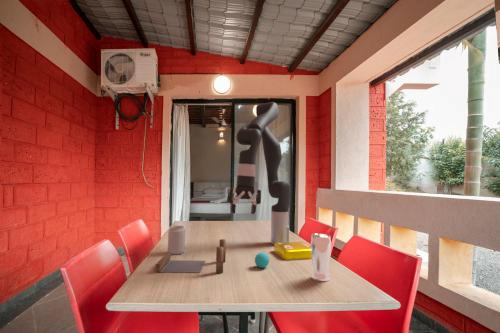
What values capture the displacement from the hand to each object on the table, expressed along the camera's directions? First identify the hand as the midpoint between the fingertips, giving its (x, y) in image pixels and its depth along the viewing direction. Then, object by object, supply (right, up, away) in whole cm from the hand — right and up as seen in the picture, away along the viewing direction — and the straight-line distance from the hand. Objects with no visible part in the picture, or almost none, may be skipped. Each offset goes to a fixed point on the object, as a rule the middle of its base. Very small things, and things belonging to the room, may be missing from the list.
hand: (243, 213), depth 114 cm
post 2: (-8, -19, -15) cm, 25 cm away
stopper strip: (-31, -19, -9) cm, 37 cm away
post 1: (-9, -20, -2) cm, 22 cm away
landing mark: (-22, -19, -9) cm, 31 cm away
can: (-31, -20, +10) cm, 38 cm away
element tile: (+23, -21, +11) cm, 33 cm away
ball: (+8, -17, -8) cm, 20 cm away
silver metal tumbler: (+28, -20, -19) cm, 39 cm away
